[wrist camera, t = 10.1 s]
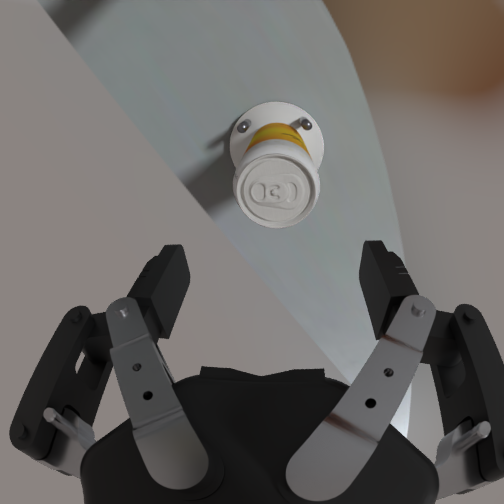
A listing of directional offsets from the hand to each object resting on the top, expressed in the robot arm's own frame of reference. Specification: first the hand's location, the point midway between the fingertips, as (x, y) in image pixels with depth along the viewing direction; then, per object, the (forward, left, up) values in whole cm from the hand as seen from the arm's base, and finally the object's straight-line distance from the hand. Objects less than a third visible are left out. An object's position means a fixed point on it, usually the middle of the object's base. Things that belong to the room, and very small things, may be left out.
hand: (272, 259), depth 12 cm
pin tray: (0, 0, -23) cm, 23 cm away
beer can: (0, 0, -22) cm, 22 cm away
